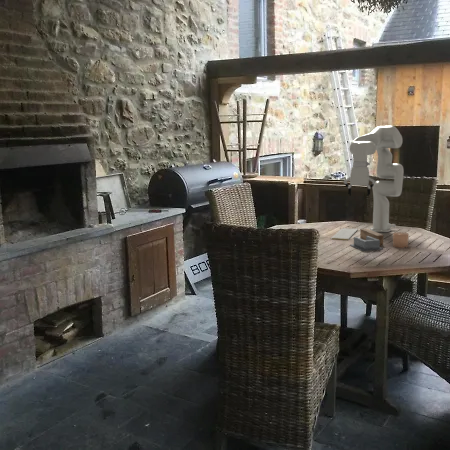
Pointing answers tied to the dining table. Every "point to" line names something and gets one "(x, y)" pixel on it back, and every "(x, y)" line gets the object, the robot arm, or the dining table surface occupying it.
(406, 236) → the brown round cylinder
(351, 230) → the baseboard molding
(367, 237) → the bracket
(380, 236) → the rail
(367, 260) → the dining table surface
